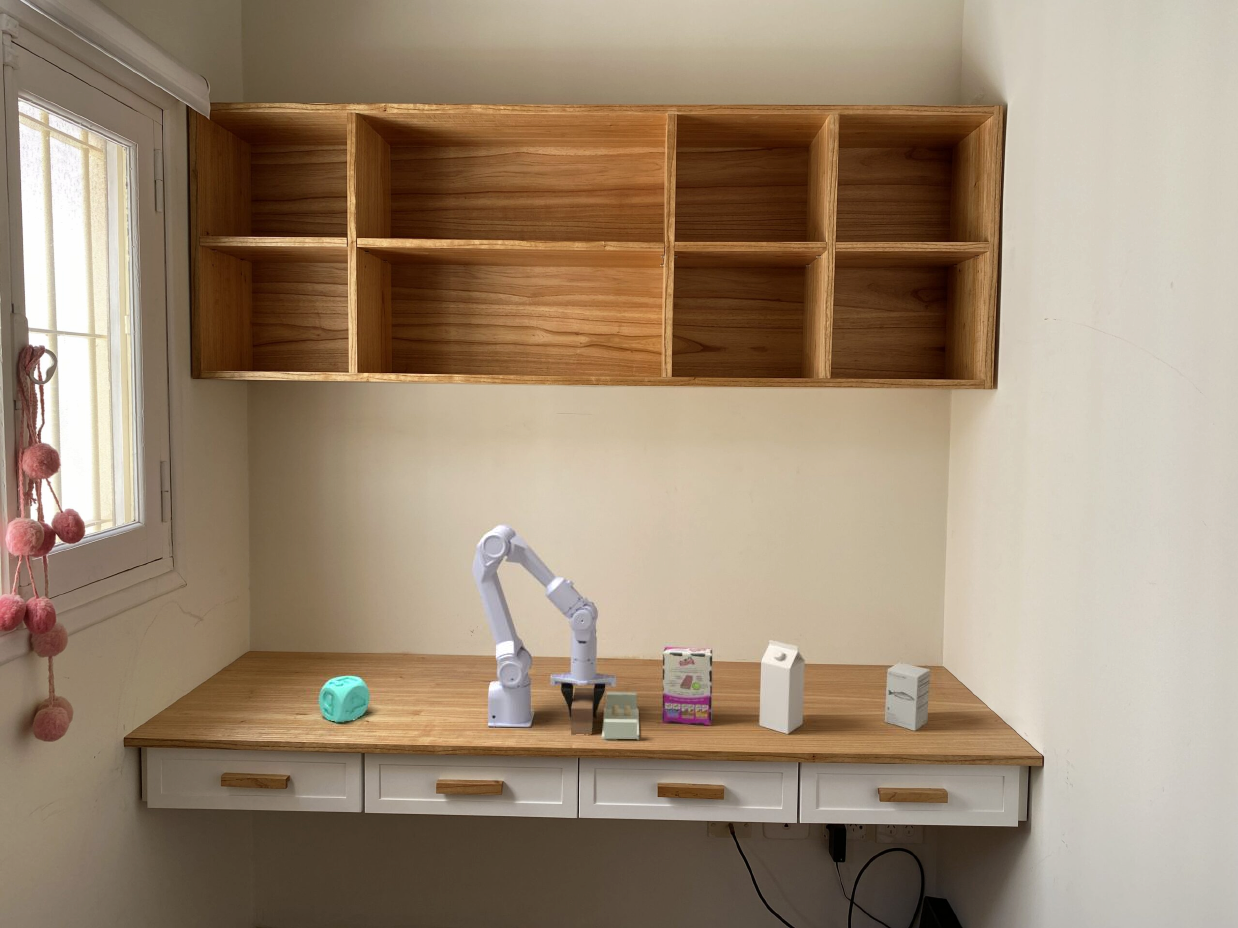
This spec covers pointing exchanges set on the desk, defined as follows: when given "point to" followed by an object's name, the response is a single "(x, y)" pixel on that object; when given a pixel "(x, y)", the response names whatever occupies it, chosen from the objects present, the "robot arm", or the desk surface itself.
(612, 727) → the peg frame
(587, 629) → the robot arm
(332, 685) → the decorative dice
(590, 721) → the brown rectangular block
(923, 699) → the supplement box
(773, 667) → the milk carton
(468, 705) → the desk surface
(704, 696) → the candy bar box
